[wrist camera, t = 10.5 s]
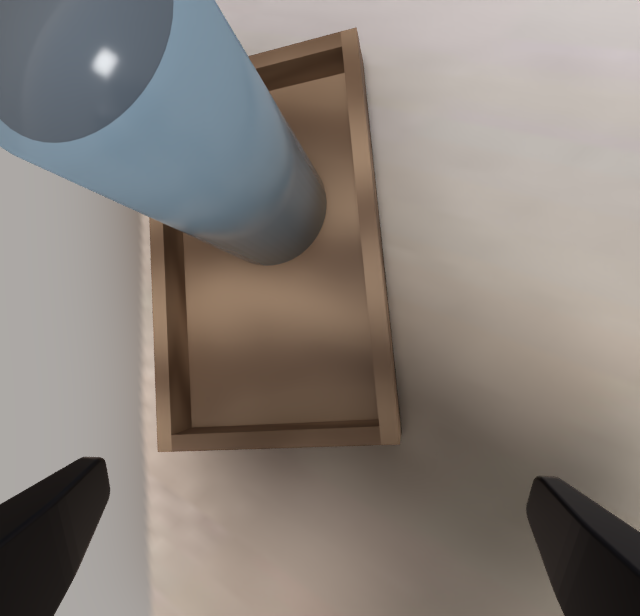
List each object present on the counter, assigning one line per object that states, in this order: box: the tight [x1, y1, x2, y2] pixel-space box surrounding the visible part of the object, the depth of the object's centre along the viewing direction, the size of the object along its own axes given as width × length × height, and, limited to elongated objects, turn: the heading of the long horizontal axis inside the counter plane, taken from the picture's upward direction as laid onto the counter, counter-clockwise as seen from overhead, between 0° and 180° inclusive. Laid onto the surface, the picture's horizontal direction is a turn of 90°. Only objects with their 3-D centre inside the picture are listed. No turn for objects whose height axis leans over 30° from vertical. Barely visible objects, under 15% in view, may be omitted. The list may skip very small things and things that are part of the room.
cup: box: [0, 0, 327, 266], centre depth 16 cm, size 6×6×13 cm
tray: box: [149, 28, 402, 452], centre depth 21 cm, size 20×12×2 cm, turn 5°
